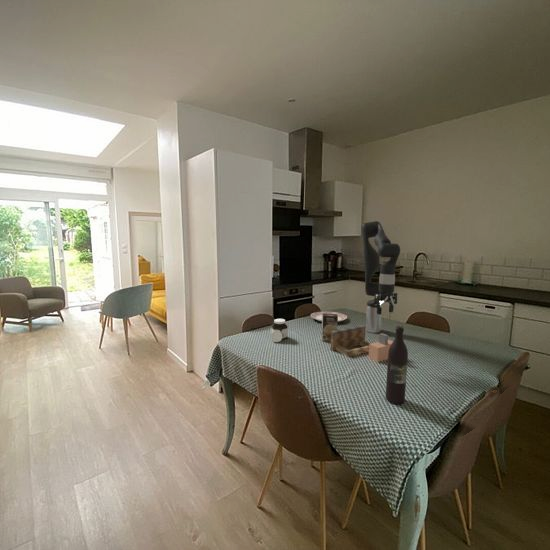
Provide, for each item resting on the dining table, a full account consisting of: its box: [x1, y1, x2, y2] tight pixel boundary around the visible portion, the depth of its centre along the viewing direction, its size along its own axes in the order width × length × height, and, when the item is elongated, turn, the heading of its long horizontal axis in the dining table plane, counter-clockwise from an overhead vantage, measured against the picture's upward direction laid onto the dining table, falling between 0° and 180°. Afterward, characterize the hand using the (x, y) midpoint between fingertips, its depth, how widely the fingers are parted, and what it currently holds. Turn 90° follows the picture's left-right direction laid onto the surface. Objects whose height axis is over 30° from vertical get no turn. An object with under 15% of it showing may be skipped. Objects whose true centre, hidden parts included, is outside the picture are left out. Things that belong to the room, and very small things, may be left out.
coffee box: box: [320, 313, 339, 343], centre depth 181 cm, size 9×6×16 cm
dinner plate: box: [310, 311, 348, 323], centre depth 226 cm, size 27×27×3 cm
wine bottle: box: [385, 325, 409, 405], centre depth 115 cm, size 7×7×30 cm
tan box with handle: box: [368, 332, 394, 363], centre depth 156 cm, size 14×6×13 cm, turn 118°
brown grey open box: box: [330, 324, 372, 358], centre depth 167 cm, size 24×12×11 cm, turn 118°
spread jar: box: [270, 318, 289, 343], centre depth 182 cm, size 12×11×12 cm
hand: (385, 313), depth 154 cm, fingers open, 8 cm apart
